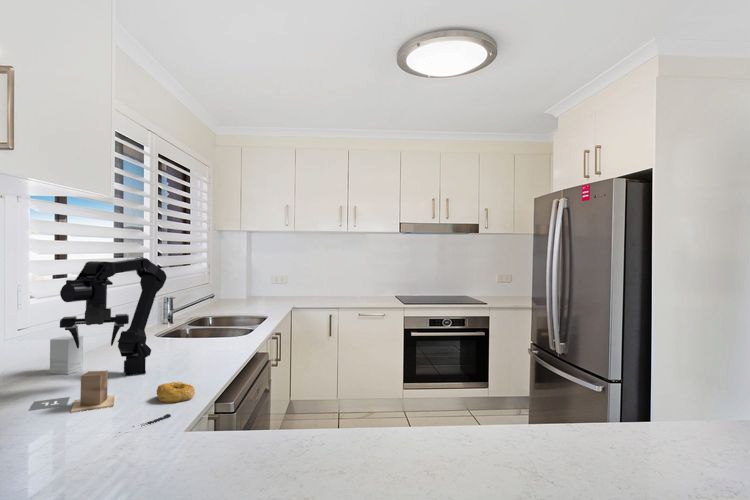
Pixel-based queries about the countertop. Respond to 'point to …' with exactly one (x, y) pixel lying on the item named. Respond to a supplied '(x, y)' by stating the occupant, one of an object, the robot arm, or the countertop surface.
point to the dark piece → (156, 420)
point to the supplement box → (65, 355)
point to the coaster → (105, 404)
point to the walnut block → (94, 388)
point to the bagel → (175, 392)
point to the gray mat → (49, 403)
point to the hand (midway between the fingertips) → (95, 346)
